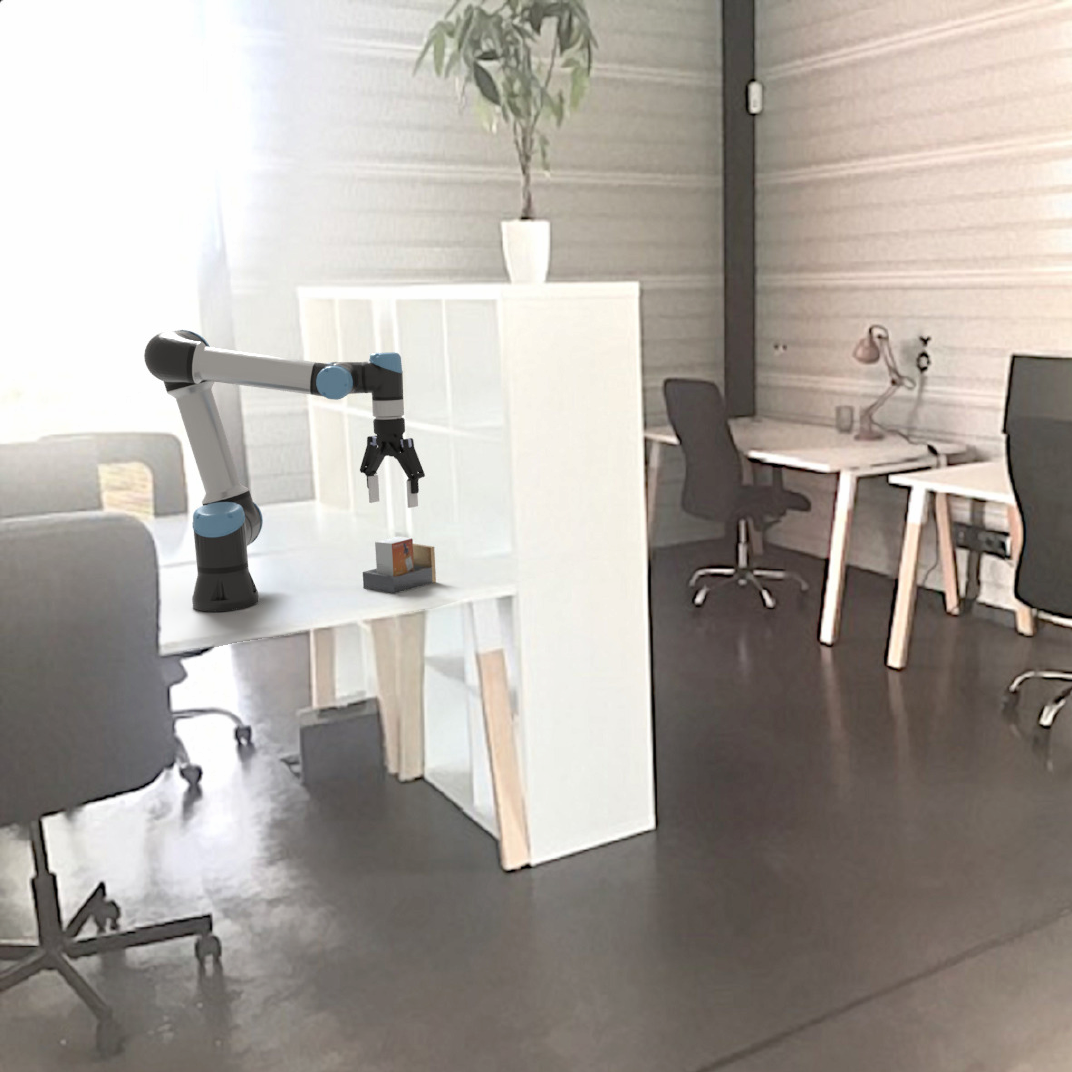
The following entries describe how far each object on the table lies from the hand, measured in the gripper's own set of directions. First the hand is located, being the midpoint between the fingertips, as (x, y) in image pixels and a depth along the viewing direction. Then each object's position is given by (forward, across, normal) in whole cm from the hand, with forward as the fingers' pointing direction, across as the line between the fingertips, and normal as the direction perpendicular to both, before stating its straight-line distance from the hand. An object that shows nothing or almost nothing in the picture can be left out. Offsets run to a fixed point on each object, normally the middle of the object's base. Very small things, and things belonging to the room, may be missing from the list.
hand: (393, 504), depth 289 cm
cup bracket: (+20, 0, 0) cm, 20 cm away
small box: (+20, 0, 0) cm, 20 cm away
